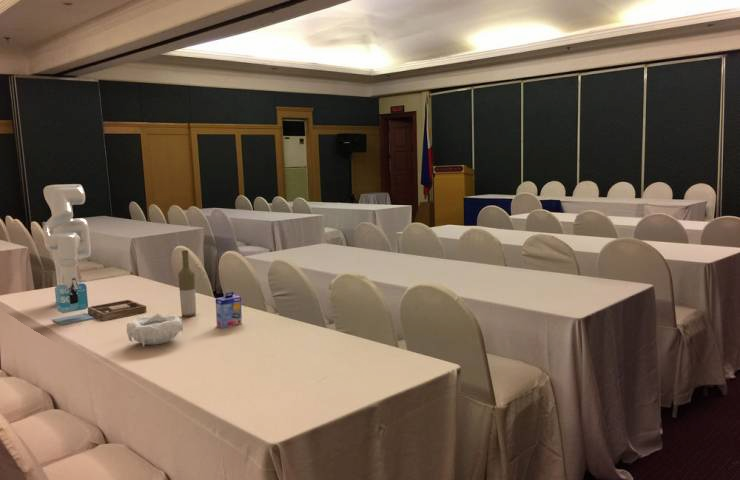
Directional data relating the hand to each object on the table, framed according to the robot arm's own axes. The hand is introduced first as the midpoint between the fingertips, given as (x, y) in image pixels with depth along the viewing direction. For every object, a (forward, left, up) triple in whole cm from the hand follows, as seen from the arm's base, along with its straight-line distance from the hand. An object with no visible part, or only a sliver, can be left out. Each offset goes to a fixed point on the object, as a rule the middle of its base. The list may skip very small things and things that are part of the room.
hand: (72, 301), depth 264 cm
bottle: (+34, +39, -8) cm, 52 cm away
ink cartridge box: (+62, +43, -8) cm, 76 cm away
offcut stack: (+6, +18, -9) cm, 21 cm away
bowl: (+63, +10, -8) cm, 64 cm away
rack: (+2, +19, -8) cm, 20 cm away
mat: (0, 0, -8) cm, 8 cm away
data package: (0, 0, -4) cm, 4 cm away
